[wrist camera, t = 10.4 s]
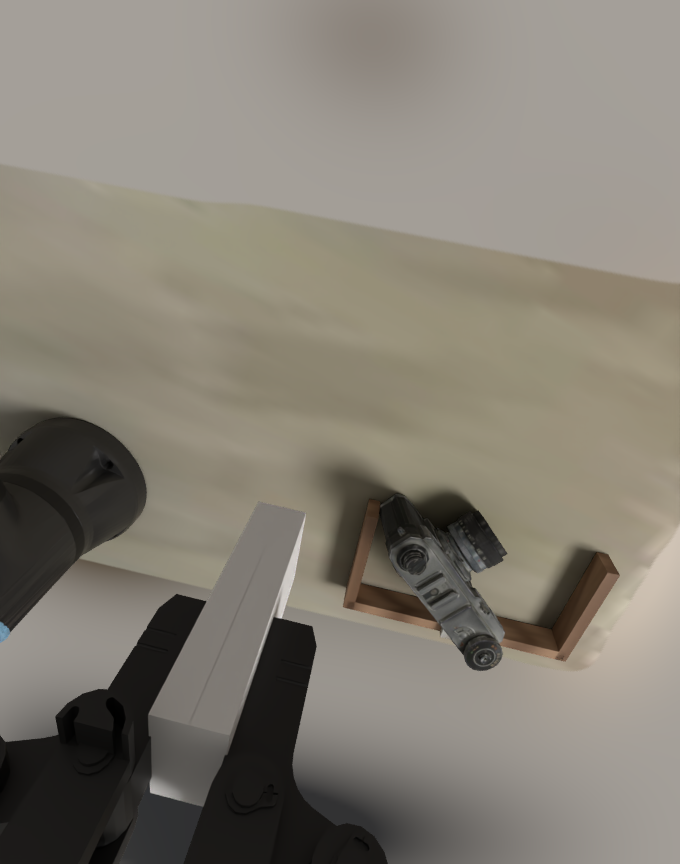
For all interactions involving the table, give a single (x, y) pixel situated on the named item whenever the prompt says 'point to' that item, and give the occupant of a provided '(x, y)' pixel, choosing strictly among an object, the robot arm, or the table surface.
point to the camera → (448, 574)
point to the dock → (516, 633)
